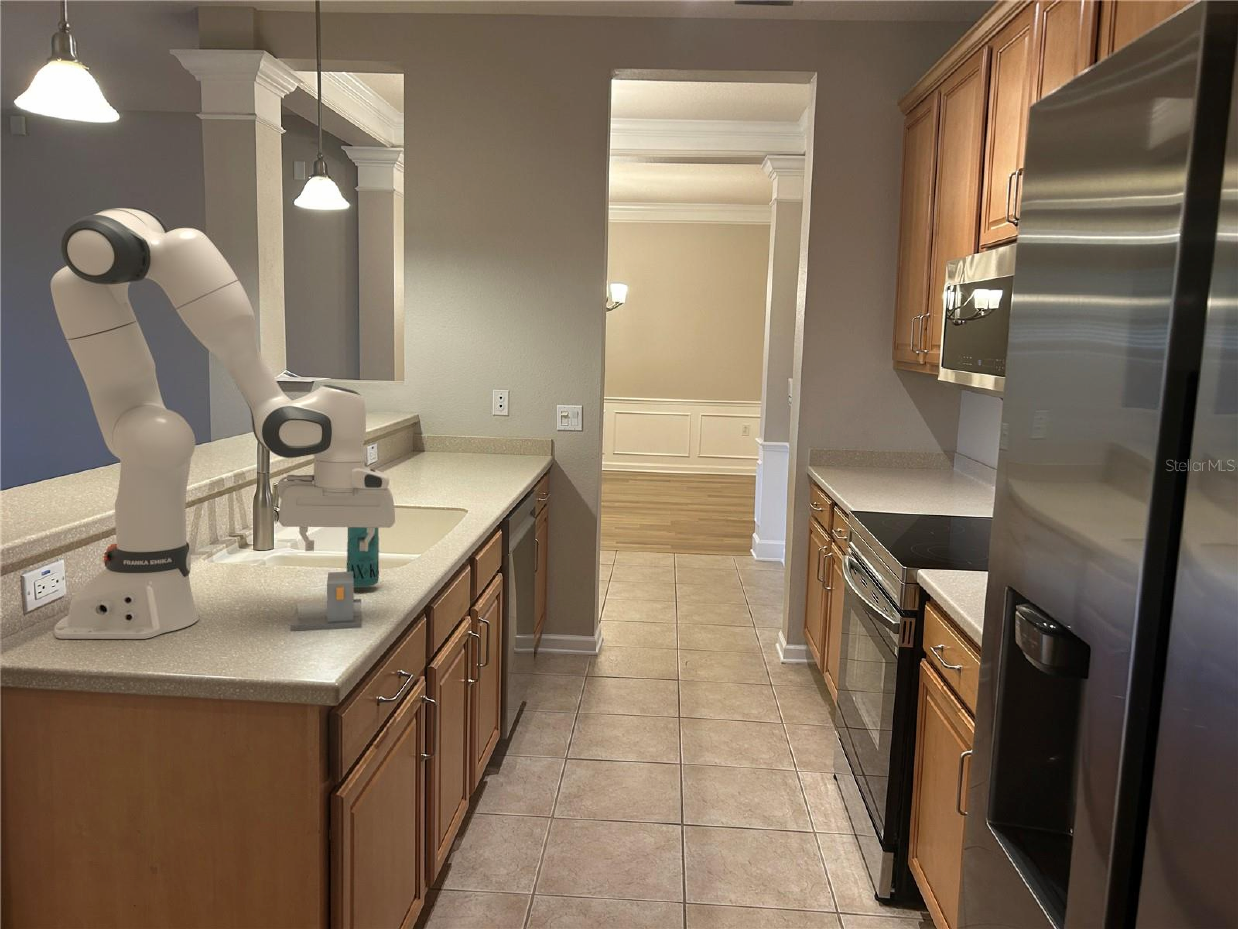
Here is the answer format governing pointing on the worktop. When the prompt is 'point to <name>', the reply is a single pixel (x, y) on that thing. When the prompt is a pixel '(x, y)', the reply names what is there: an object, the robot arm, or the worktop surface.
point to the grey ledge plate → (321, 617)
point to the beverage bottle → (363, 557)
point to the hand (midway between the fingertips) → (336, 550)
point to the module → (340, 596)
